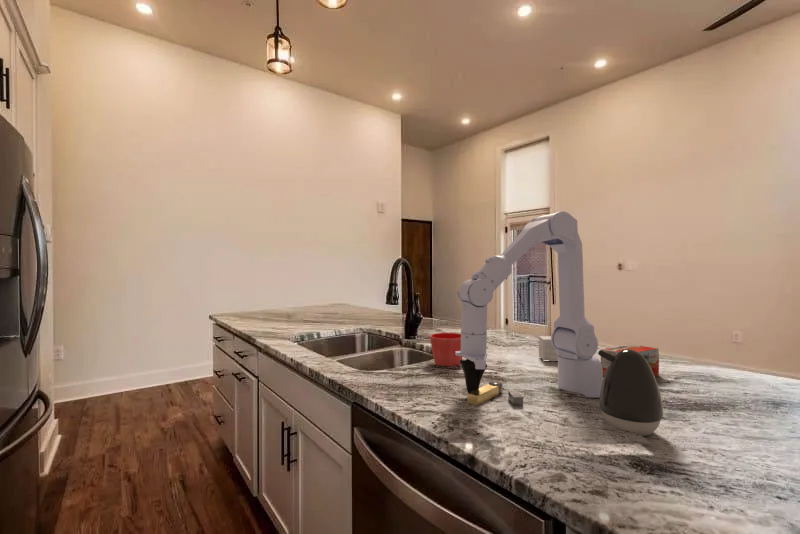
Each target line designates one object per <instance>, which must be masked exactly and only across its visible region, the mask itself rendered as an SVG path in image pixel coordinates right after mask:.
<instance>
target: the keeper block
mask: <svg viewBox="0 0 800 534" xmlns="http://www.w3.org/2000/svg"><path fill="white" fill-rule="evenodd" d="M507 394H508V398H507V399H508V401H509V402H510V403H511V405H512V406H513V407H524V396H523V395H522V394H521V393H520V392H519V391H518V390H508V393H507Z"/></svg>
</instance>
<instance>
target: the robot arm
mask: <svg viewBox="0 0 800 534" xmlns="http://www.w3.org/2000/svg"><path fill="white" fill-rule="evenodd" d="M578 230H579V229H578V220H577V219H576V218H575V216H572V214H571V213H569V212H567V211H557V212H555V213H550V214H544V215H538V216H535V217H534V218H531V220H530V221H529V222H528V223H526V224H525V225H524V227H523V229H522V231H521V232H520V233H519V234H518V235H517V236H516V237H515V239H513V241H512V242H511V243H510V244H509V245H508V246H507V247H506V249H504V251H503V252H502V253H501V254H500V255H492V256H491V257H489V256H488V257H486V258H485V259H484V262H485V263H484V264H483V266H481V268H480V269H478V270H477V271H476V272H472V274H471V279H466V280H464V281H463V282H462V283H461V284H460V286H459V289H458V290H457V291H456V294H457V298H458V299H459V301H460V302H461V314H460V317H461V319H460V334H461V351H455V354H456V356H462V358H464V359H462V360H460V364H461V365H460V366H461V367H462V371H463V376H464V380H465V385H466V386H465V387H466V391H467V393H469V392H471V391H474V390H476V389H479V388H480V384H481V381H482V377H483V375H484V373H485V371H486V370H487V368H488V363H487V357H488V353H487V342H488V341H487V339H488V338H487V336H488V335H487V334H488V331H487V330H488V304H490V303H491V302H492V300H493V298H494V292H496V290H497V289H498V288H499V287H500V286H501V284H502V283H504V282H505V280H506V279H507V278H508V277H509V276H510V275H511V274H512V273H513V264H515V263H516V262H517V261H518V260H519V259H520V258H521V257H523V255H524V254H526V253H527V252H528V251H529V250H530V249H531V248H532V247H533V246H534V245H536V244H538V243H541V244H543V245H546V246H548V247H549V248H551V249H552V250H554V251H555V252H556V253H557V267H558V269H557V271H558V297H559V298H558V299H559V303H558V304H559V316H558V317H557V319H555V321H554V322H553V331H552V334H551V342H552V345H553V346H554V348H555V349H556V353H557V354H558V362H557V387H558V388H559V389H561V390H563V391H567V392H571V393H580V394H582V395H584V396H585V397H586V398H588V399H590V398H598V399H599V398H600V391H601V386H602V381H603V378H604V377H603V370H602V365H601V359H599V358H598V357H596V356H594V355H596V353H597V351H598V348H599V340H598V338H597V336H596V334H595V326H594V325H593V324H592V323H591V321H589V320H588V318H586V316H585V315H586V314H585V288H584V285H585V284H584V266H583V265H584V263H583V262H584V261H583V259H584V258H583V243H582V239H581V236H580V235H579V231H578Z"/></svg>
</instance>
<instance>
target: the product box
mask: <svg viewBox="0 0 800 534" xmlns="http://www.w3.org/2000/svg"><path fill="white" fill-rule="evenodd" d="M551 336H552V335H551ZM551 336H550V335H546V336H545V335H539V336H538V358H539V357H541V358H542V359H543V360H549V361H558V354H557V353H556V349H555V348H554V346H553V345H552V342H551Z"/></svg>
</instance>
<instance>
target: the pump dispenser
mask: <svg viewBox="0 0 800 534" xmlns="http://www.w3.org/2000/svg"><path fill="white" fill-rule="evenodd" d="M597 353H598V356H600V358H601V357H603V358H605V359H606V360H608V361H610V364H609V366H608V368H607V370H606V372H605V375H604V377H603V381H602V386H601V391H600V398H598V399H599V400H598V405H599V409H600V411H601V415H602V417H603V419H604V421H605V422H606V423H607V424H608V425H609V426H611V427H613V428H616V429H619V430H623V431H626V432H629V433H636V434H638V435H639V436H641V437H646V436H649V435H651V434H654V432H655V431H656V430H657V429H658V427H659V425H660V423H661V420H663V418H664V409H663V403H662V396H661V392H660V388H659V385H658V381H657V379H656V376H654V374H653V372H652V369H651V367H650V365H649V364H648V362H647V360H646V359H645V358H644V356H643V355H642V354H640V353H639V352H637V351H634V350H630V349H625V350H621V351H619V352H618V353H617V354H616V355H612V354H609V353H607V352H604V351H602V350H601V349H599V351H598V352H597Z"/></svg>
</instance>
